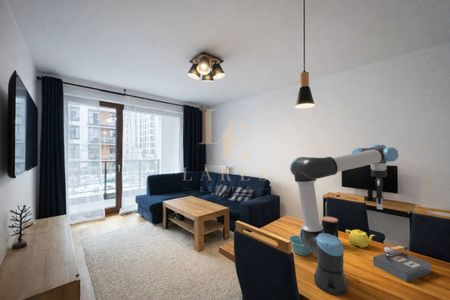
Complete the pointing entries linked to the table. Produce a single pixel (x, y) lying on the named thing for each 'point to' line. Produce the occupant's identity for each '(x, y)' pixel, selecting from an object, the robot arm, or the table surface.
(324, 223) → the coffee jar
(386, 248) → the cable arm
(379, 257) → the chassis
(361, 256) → the table surface
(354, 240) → the teapot
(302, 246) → the bowl
